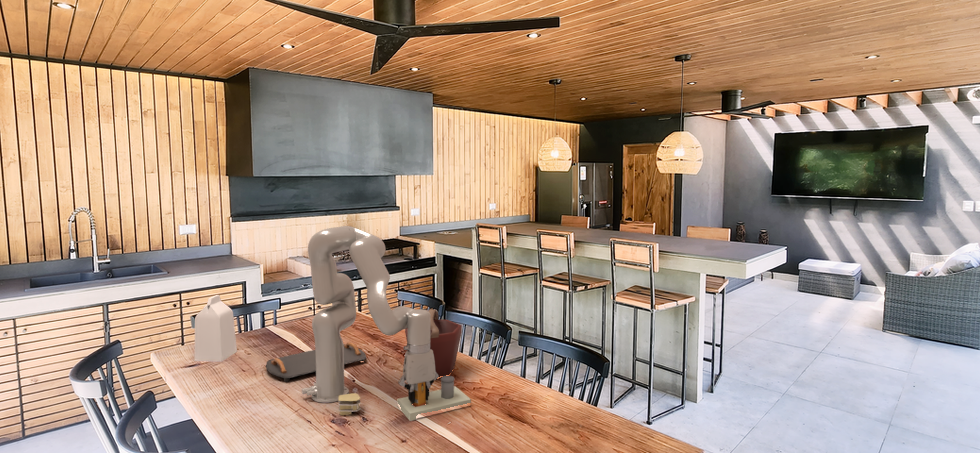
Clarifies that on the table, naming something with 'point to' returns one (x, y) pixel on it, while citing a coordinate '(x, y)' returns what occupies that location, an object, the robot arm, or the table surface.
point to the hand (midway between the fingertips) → (418, 399)
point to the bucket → (443, 342)
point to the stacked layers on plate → (348, 403)
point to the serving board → (308, 362)
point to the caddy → (436, 399)
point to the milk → (214, 332)
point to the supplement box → (419, 394)
